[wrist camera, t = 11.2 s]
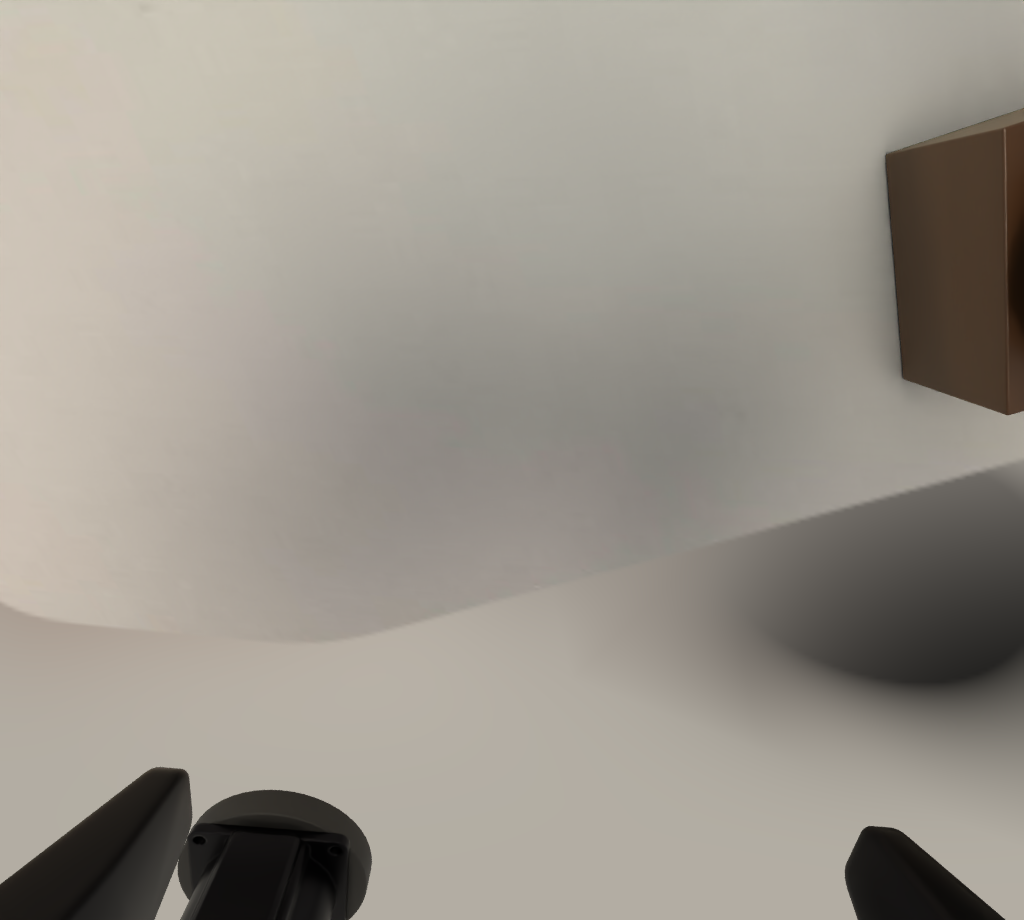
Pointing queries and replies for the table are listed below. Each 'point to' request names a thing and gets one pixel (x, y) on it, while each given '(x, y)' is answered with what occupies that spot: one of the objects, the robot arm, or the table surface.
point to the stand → (962, 261)
